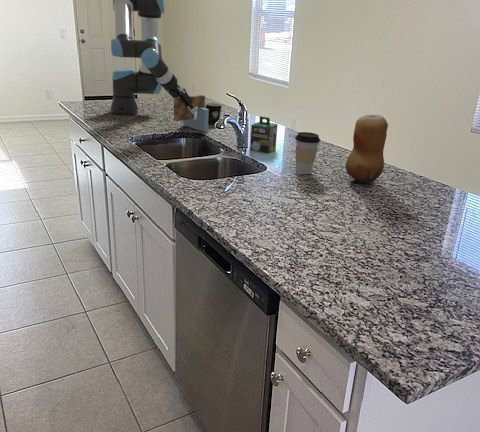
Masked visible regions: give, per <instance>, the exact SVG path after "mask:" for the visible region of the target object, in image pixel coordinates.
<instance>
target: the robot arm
mask: <svg viewBox="0 0 480 432" xmlns="http://www.w3.org/2000/svg"><path fill="white" fill-rule="evenodd" d="M112 9H113V11H114V22H115V23H114V25H115V30H114V31H115V33H114V34H115V36H114V37H115V38H111V40H110V49H111V55H112V56H113V57H119V58H136V59H140V60H141V62H140V63H141V64H140V65H141V66H139V67H138V71H135V68H132V67H131V68H129V67H128V68H120V69H116V70H115V69H114V71H113V72H112V78H111V81H112V101H111V104H110V109H109V110H110V114H114V115H119V116H120V115H121V116H132V115H133V116H134V115H138V114H139V107H138V104H137V101H136V94H138V95H159V94H160V93H161V92H162V88H163V89H164V90H165V91H166V92H167V93H168V94H169V96H170V97H172V98H173V99H174V97H180V98H181V99H182V101H183V102H184V103H185V104H186V107H187V108H188V109H189V110H190V112H191V113H192V114H193V115H194V114H196V113H197V108H196V107H195V108H194V106H193V105H192V104H191V103H192V102H193V101H192V100H191V98H190V97H189V96H190V95H189V94H188V92H187V90H186V89H185V88H181V86H180V85H179V84H178V77H176V76H175V75H174V73H173V72H172V70H171V69H170V68H169V66H168V65H167V64H166V63H165V61H164V60H163V55H162V54H163V53H162V46H161V42H160V40H159V20H160V19H161V18H162V15H163V14H164V13H165V3H164V0H112ZM133 12H137V16H138V18H140V23H141V24H140V25H141V26H140V29H141V30H140V34H141V35H140V39H139V40H138V39H133V23H132V13H133ZM194 116H195V115H194Z"/></svg>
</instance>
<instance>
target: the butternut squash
mask: <svg viewBox="0 0 480 432" xmlns="http://www.w3.org/2000/svg"><path fill="white" fill-rule="evenodd" d="M387 121H388V120H387V119H386V118H385V117H384V116H383V115H380V114H366V115H363V116H360V117H358V119H357V120H356V122H355V124H354V130H353V138H352V140H353V141H352V142H353V147H352V150H351V152H350V153H349V154H348V156H347V158H346V161H345V170H346V173H347V174H348V176H349V177H351V178H352V179H353V180H354V181H356V182H357V181H359V182H358V183H360V182H363V183H364V182H365V183H373V182H375V181H376V180H377V179H378V178H380V176H381V175H382V174H383V172H384V171H383V170H384V169H385V168H384V167H385V157H384V148H385V145H386V140H387V136H388V135H387V134H388V133H387V132H388V127H389V123H388V122H387Z"/></svg>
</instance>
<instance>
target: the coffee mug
mask: <svg viewBox="0 0 480 432" xmlns="http://www.w3.org/2000/svg"><path fill="white" fill-rule="evenodd" d="M222 106H223V104H221V103H219V102H218V103H217V102H207V103H206V102H205V108H206V109H209V115H208V125H214V124H215V123H216V122H217V121H218V120H219V121H220V118H221V112H222V108H223V107H222ZM215 125H216V124H215Z"/></svg>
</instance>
